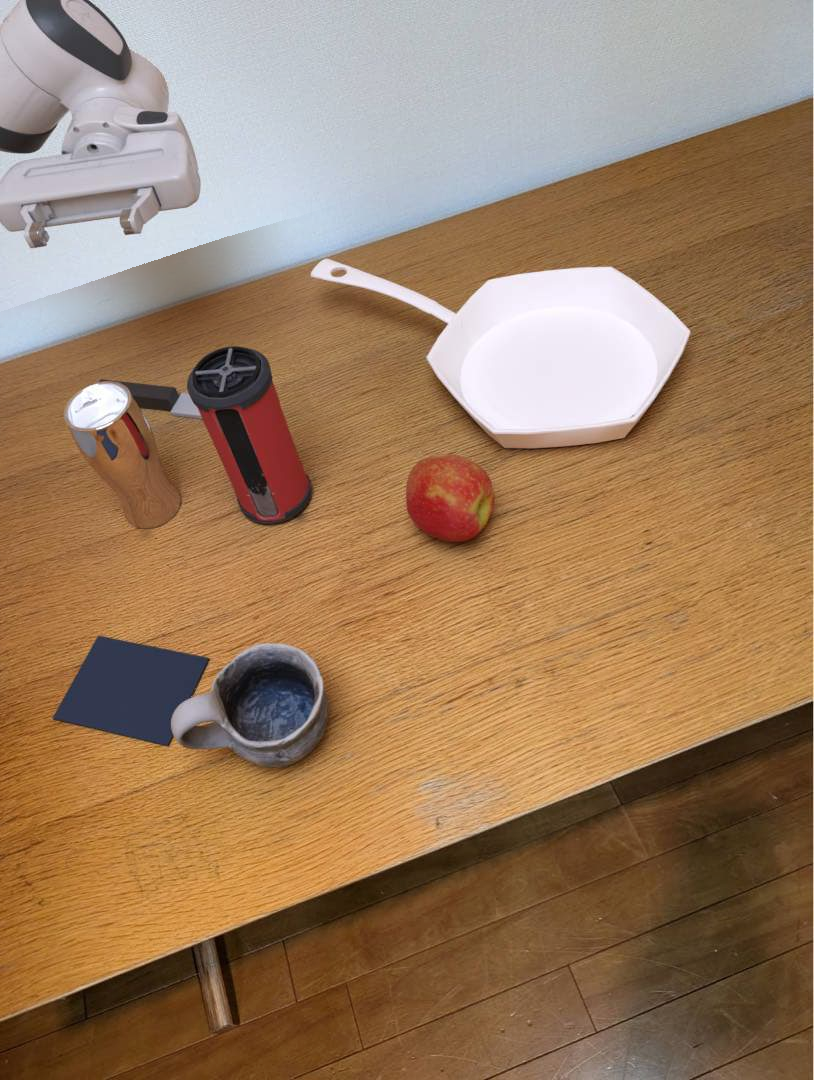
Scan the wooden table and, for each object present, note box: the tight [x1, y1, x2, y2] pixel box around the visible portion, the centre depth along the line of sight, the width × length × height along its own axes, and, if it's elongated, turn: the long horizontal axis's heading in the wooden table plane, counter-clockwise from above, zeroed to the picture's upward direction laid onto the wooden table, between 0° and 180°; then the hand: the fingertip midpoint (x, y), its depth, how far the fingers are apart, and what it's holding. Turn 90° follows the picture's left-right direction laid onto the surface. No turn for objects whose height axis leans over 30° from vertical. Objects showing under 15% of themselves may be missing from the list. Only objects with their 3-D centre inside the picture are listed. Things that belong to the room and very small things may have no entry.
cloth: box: [52, 635, 210, 747], centre depth 91 cm, size 12×9×1 cm
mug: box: [171, 642, 329, 768], centre depth 81 cm, size 10×12×10 cm
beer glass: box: [63, 380, 182, 529], centre depth 99 cm, size 7×7×15 cm
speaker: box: [186, 345, 313, 525], centre depth 95 cm, size 8×8×18 cm
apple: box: [405, 453, 495, 543], centre depth 94 cm, size 8×8×8 cm
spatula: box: [98, 378, 203, 420], centre depth 113 cm, size 16×3×2 cm, turn 73°
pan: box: [310, 258, 691, 449], centre depth 108 cm, size 28×43×7 cm, turn 58°
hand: (81, 235), depth 93 cm, fingers open, 8 cm apart
